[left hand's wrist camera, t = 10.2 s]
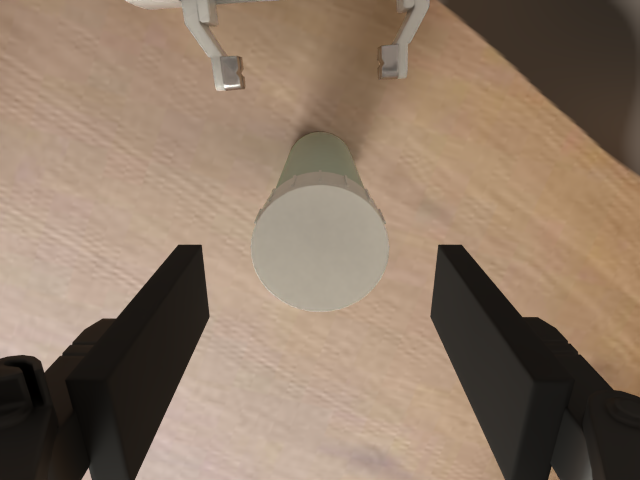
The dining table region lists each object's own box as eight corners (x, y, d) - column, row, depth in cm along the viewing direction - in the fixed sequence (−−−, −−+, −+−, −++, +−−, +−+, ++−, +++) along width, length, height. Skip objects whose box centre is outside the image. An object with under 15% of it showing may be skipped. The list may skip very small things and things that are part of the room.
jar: (310, 118, 32) (301, 161, 16) (364, 155, 33) (408, 231, 17) (275, 173, 33) (234, 263, 17) (328, 207, 34) (335, 322, 18)
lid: (301, 144, 17) (299, 154, 15) (407, 215, 18) (418, 234, 16) (235, 247, 19) (224, 269, 17) (335, 307, 20) (337, 334, 18)
